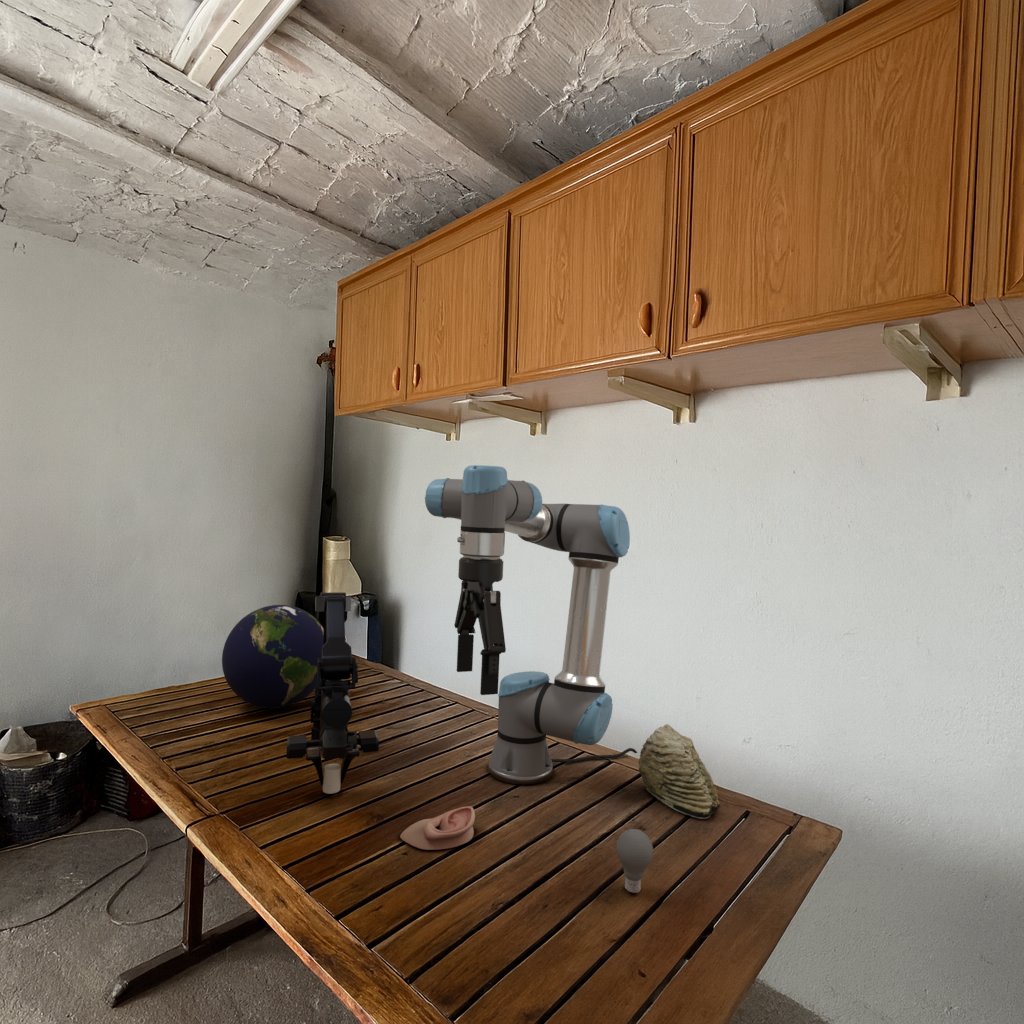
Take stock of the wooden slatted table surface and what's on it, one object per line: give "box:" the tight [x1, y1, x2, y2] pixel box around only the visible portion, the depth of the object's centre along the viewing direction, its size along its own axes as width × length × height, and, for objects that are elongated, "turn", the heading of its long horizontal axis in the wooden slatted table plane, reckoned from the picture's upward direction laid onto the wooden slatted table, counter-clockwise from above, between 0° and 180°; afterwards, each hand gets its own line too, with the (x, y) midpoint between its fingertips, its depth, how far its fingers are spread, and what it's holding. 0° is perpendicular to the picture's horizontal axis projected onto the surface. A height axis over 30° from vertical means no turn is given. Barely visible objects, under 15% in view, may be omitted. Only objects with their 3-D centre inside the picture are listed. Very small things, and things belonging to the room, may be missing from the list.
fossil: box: [637, 723, 721, 820], centre depth 139 cm, size 9×18×15 cm, turn 46°
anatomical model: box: [399, 805, 476, 851], centre depth 120 cm, size 13×4×12 cm
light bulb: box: [615, 828, 654, 894], centre depth 106 cm, size 6×6×10 cm
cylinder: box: [322, 763, 342, 795], centre depth 135 cm, size 4×4×5 cm
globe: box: [221, 604, 323, 709], centre depth 188 cm, size 30×30×30 cm
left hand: (331, 783), depth 135 cm, fingers closed on cylinder, 4 cm apart
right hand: (476, 682), depth 107 cm, fingers open, 13 cm apart
